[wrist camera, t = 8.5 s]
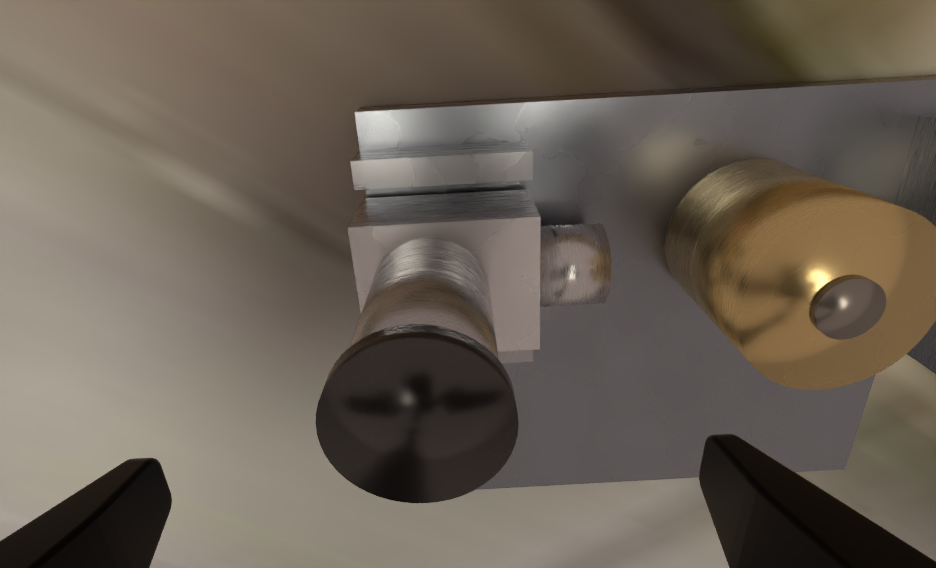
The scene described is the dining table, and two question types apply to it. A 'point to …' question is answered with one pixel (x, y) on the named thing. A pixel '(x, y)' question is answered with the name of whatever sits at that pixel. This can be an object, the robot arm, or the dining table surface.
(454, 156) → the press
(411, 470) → the ram
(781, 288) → the cylinder
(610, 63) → the dining table surface
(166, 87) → the dining table surface
